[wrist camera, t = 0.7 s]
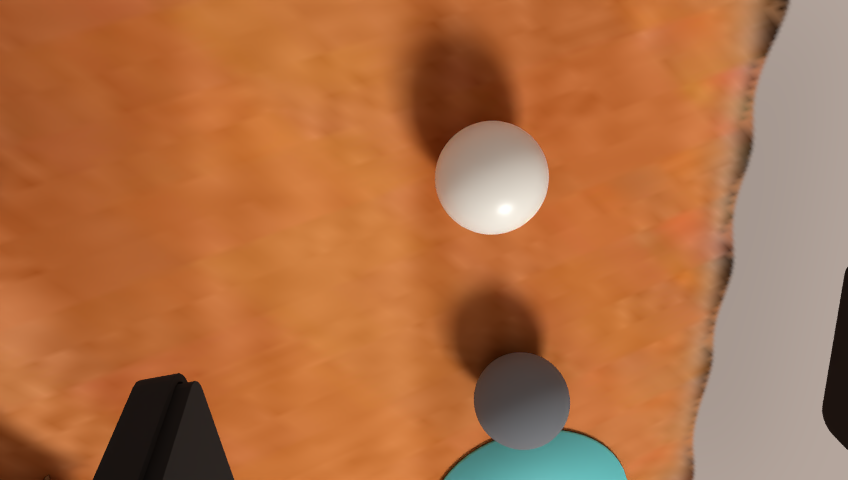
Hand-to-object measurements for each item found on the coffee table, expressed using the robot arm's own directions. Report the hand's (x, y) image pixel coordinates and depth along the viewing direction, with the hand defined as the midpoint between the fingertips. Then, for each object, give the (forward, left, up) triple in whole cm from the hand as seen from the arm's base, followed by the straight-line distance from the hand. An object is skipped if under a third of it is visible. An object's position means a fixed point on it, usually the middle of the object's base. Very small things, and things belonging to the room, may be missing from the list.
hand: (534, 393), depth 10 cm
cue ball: (+6, +3, -23) cm, 24 cm away
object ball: (+20, +3, -23) cm, 30 cm away
